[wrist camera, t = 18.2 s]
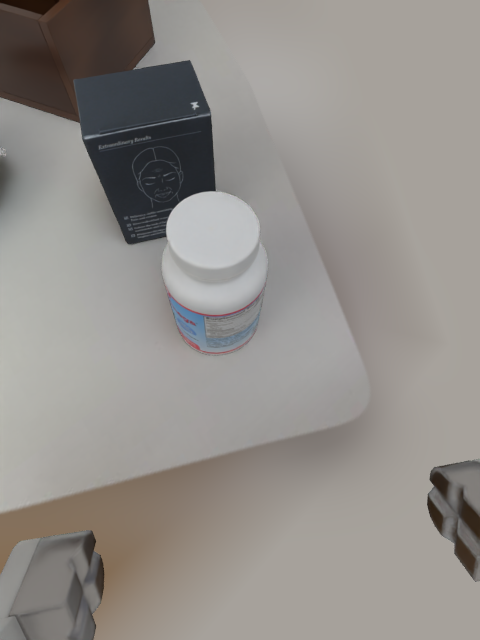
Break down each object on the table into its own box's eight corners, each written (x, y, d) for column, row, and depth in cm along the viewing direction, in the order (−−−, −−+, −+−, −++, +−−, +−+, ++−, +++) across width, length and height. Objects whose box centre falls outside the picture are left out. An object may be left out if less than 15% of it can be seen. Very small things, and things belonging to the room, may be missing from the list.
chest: (86, 124, 36) (46, 23, 28) (-22, 89, 38) (-88, -17, 30) (155, 42, 42) (138, -62, 34) (58, 15, 44) (20, -91, 36)
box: (202, 178, 34) (192, 56, 24) (218, 226, 32) (214, 113, 22) (116, 195, 33) (69, 75, 23) (126, 247, 31) (80, 137, 21)
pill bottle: (169, 296, 29) (138, 192, 19) (244, 277, 30) (253, 168, 20) (188, 368, 27) (163, 294, 16) (268, 345, 28) (293, 262, 17)
